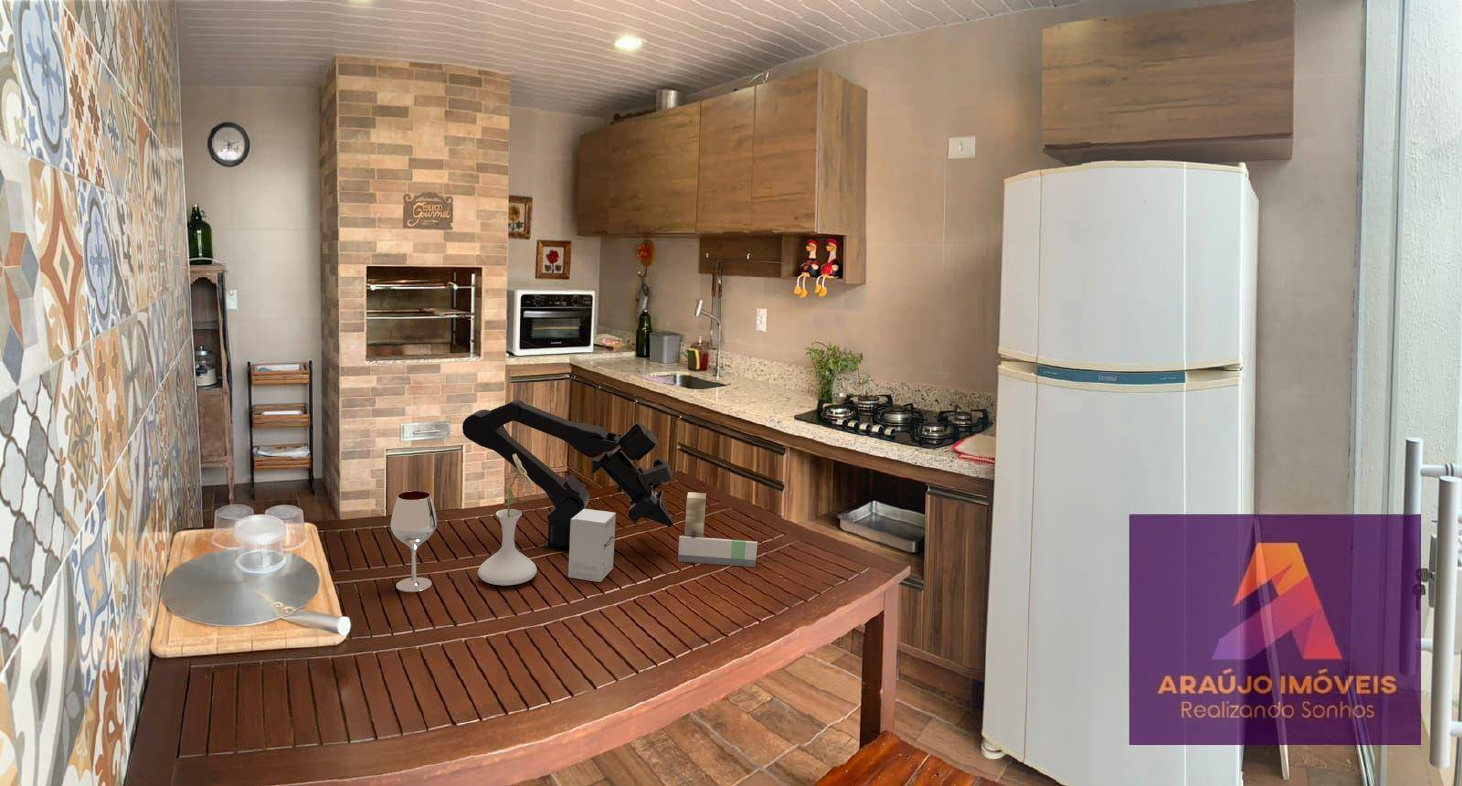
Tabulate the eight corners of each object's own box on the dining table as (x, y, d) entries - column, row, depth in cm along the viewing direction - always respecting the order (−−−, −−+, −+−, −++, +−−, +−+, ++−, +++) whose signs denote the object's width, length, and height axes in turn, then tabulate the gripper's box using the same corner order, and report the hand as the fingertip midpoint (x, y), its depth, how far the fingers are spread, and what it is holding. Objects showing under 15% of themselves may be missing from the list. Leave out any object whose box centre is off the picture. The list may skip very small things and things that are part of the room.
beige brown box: (680, 554, 175) (684, 500, 173) (682, 543, 182) (686, 491, 179) (703, 555, 175) (707, 502, 173) (704, 545, 182) (708, 493, 179)
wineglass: (392, 596, 149) (392, 503, 146) (388, 579, 156) (388, 490, 153) (439, 591, 153) (440, 500, 150) (433, 574, 160) (434, 487, 157)
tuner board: (677, 561, 176) (679, 537, 175) (680, 548, 184) (682, 525, 183) (755, 567, 176) (757, 543, 175) (754, 553, 184) (756, 530, 183)
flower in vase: (528, 593, 155) (532, 467, 151) (469, 588, 155) (471, 463, 151) (544, 567, 168) (548, 450, 163) (490, 562, 168) (492, 446, 163)
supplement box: (601, 583, 162) (604, 523, 160) (567, 577, 163) (569, 518, 161) (614, 569, 169) (616, 512, 167) (580, 564, 170) (583, 507, 168)
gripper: (646, 461, 166) (696, 516, 168) (656, 440, 185) (701, 490, 187) (607, 495, 168) (657, 549, 170) (620, 471, 186) (665, 520, 188)
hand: (672, 525), depth 179 cm, fingers closed
